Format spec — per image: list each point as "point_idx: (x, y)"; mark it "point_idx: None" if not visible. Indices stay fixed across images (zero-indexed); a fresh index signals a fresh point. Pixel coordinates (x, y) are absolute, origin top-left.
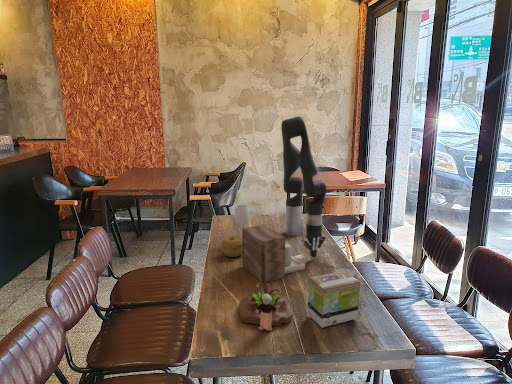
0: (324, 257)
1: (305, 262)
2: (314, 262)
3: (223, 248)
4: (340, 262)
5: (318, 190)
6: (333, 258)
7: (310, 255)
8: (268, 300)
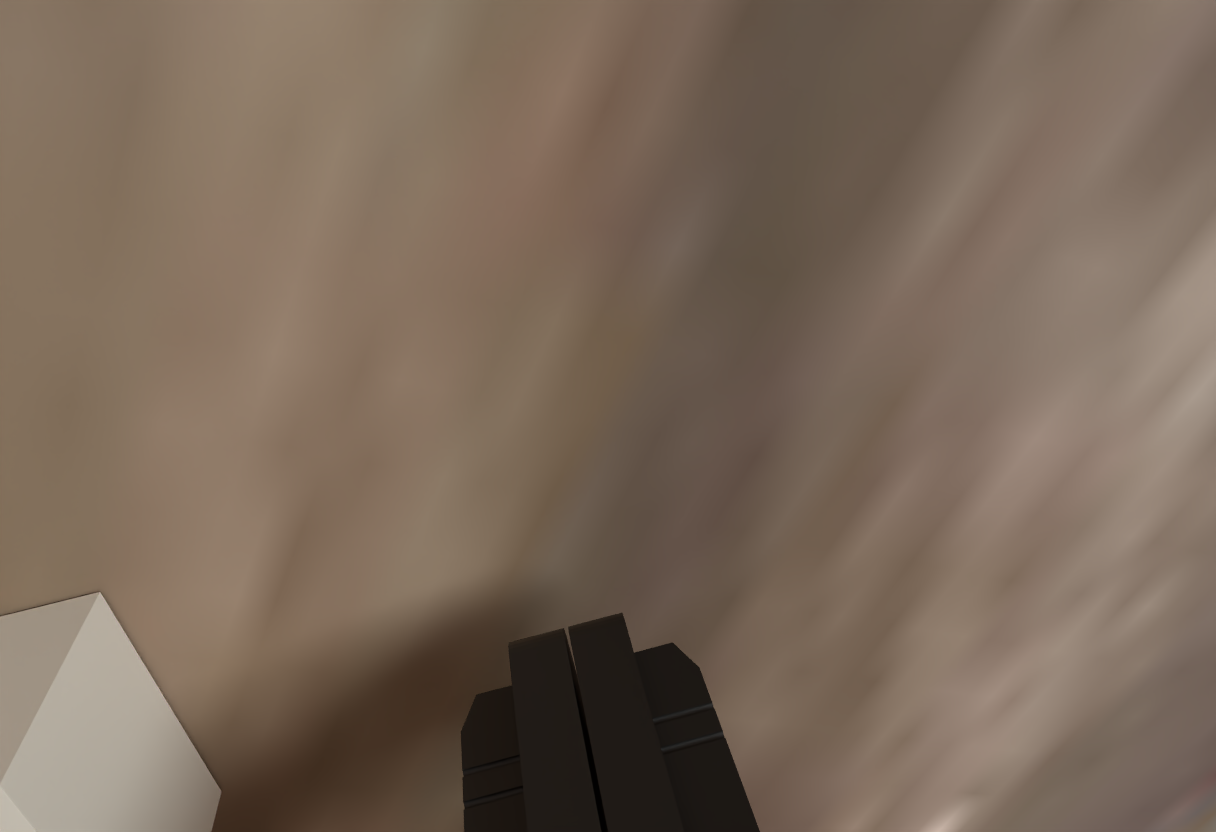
0: (979, 517)
1: (201, 823)
2: None
3: None
4: (1103, 813)
5: None
6: (1141, 616)
7: (477, 698)
8: None
